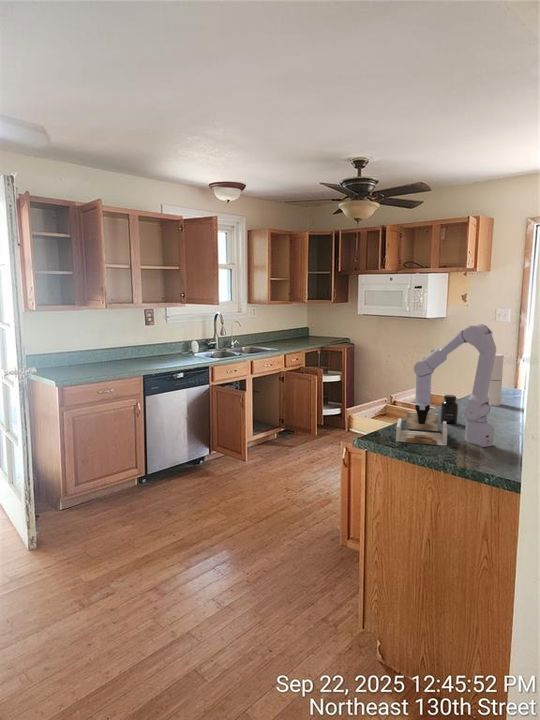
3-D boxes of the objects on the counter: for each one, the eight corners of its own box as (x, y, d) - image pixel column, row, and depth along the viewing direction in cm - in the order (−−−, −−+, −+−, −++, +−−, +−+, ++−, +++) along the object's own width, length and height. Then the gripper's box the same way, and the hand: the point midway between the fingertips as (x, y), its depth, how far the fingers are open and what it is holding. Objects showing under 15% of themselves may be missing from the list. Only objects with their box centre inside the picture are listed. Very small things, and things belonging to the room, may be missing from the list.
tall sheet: (437, 431, 194) (438, 413, 193) (437, 432, 192) (438, 414, 191) (406, 429, 198) (407, 411, 197) (406, 430, 196) (407, 412, 195)
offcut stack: (436, 441, 179) (436, 435, 178) (436, 444, 176) (437, 438, 175) (406, 439, 182) (406, 433, 182) (405, 441, 179) (405, 435, 179)
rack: (445, 436, 188) (446, 421, 187) (446, 447, 174) (447, 431, 174) (398, 432, 193) (398, 418, 192) (395, 442, 180) (396, 427, 179)
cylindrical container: (481, 403, 242) (484, 354, 238) (491, 401, 245) (494, 353, 241) (493, 406, 235) (496, 355, 232) (503, 404, 238) (506, 354, 235)
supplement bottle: (446, 425, 202) (447, 398, 200) (437, 421, 209) (438, 394, 207) (460, 424, 204) (462, 397, 202) (450, 420, 210) (451, 393, 209)
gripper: (413, 386, 201) (412, 418, 203) (412, 393, 187) (411, 427, 189) (431, 387, 199) (429, 419, 201) (431, 394, 185) (429, 428, 187)
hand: (421, 423), depth 195 cm, fingers closed on tall sheet, 2 cm apart
